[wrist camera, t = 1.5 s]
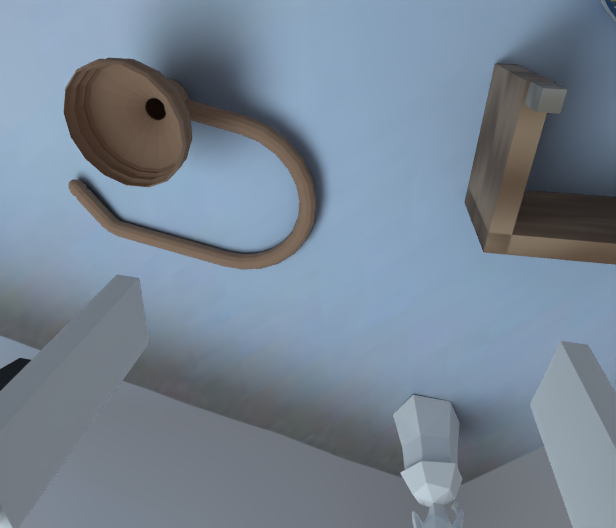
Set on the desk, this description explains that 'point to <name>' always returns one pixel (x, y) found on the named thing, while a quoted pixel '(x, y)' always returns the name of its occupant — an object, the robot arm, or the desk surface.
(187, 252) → the brown curved horn
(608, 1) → the supplement tub
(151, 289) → the desk surface
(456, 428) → the figurine
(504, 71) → the walnut holder
